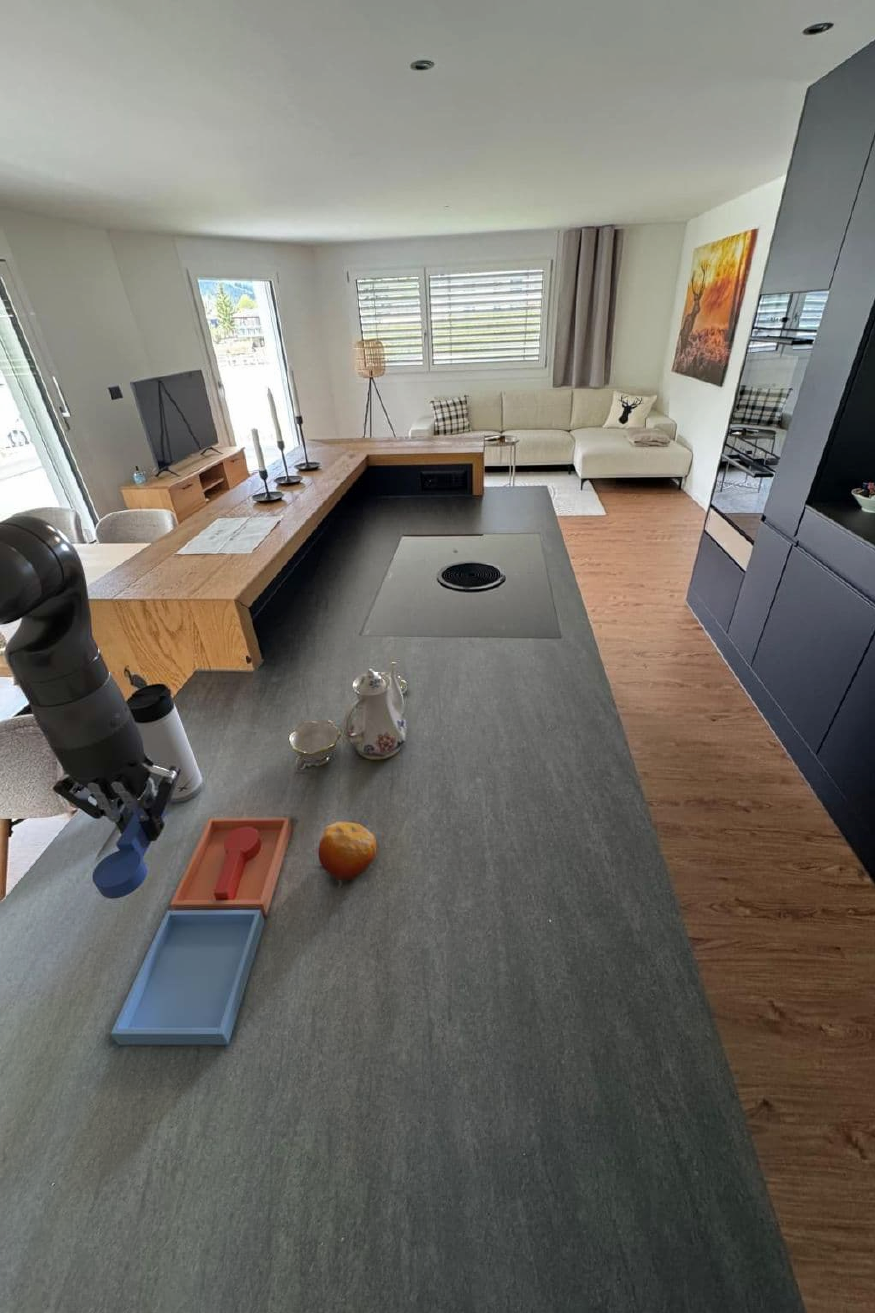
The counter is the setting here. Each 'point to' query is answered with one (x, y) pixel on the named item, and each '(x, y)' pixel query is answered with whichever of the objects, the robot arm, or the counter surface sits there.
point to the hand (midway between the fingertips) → (145, 835)
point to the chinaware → (359, 722)
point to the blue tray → (191, 979)
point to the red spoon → (236, 860)
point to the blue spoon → (124, 863)
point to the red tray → (256, 874)
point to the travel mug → (165, 737)
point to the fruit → (346, 850)
